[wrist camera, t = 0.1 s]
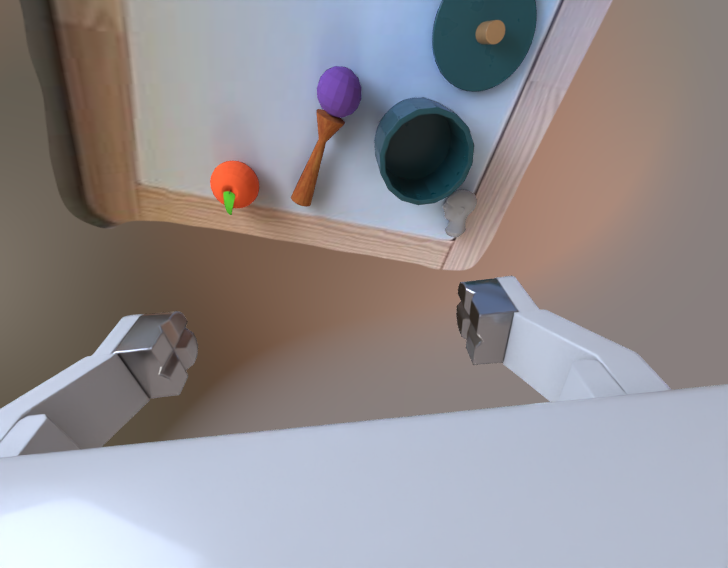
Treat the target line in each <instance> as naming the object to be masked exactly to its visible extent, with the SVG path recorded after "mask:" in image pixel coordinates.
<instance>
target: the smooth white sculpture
mask: <svg viewBox="0 0 728 568" xmlns="http://www.w3.org/2000/svg"><path fill="white" fill-rule="evenodd" d="M476 203H477V199H476V196H475V194H474V193H472V192H471V191H468V190H458V191H456V192H454V193H453V194H452V195H450V196H449V197H448V199H447V201H446V202H445V203H444V205H443V209H444V212H445V215H444V217H445V218H446V219H448V220H449V223H448V226H447V227H446V228H445V231H446V234H447V235H449V236H451V237H459V236H460V235H461V234H462V233H464V232H465V230H466V228H465V222H466V218H467V216H468V215H469V214H470V213H471V212H472V211H473V210H474V208H475V206H476Z"/></svg>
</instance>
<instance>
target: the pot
mask: <svg viewBox="0 0 728 568" xmlns="http://www.w3.org/2000/svg"><path fill="white" fill-rule="evenodd" d="M374 143H375V156H376V159H377V163H378V166H379V170H380V173H381V176H382V178H383V180H384V182H385V184H386V186H387V188H388V189H389V191H391V192H392V193H393V194H394V195H396V196H397V197H398V198H399V199H400V200H402V201H406V202H409V203H412V204H416V205H422V204H431V203H436V202H438V201H440V200H442V199H444V198H446V197H448V196H450V195H452V194H453V193H454V192H455V190H456V189H457V188H458V187H459V186H460V185H461V184H462V183H463V182H464V181H465V179H466V177H467V175H468V172H469V170H470V168H471V166H472V163H473V152H474V143H473V140H472V137H471V134H470V130H469V128H468V126H467V125H466V124H465V123H464V122H463V121H462V120H461V119H460V118H459V117H458V116H457V114H455V113H454V112H452V111H451V110H449V109H448V108H446V107H444V106H443V105H441V104H440V103H438V102H435V101H432V100H430V99H427V98H423V97H422V98H410V99H406V100H403V101H401V102H399V103H398V104H396V105H395V106H393V107H392V108H391V109H390V110H389V111H388V112H387V113H386V114H385V115H384V117H383V118H382V119H381V121H380V123H379V125H378V128H377V131H376V135H375V140H374Z"/></svg>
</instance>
